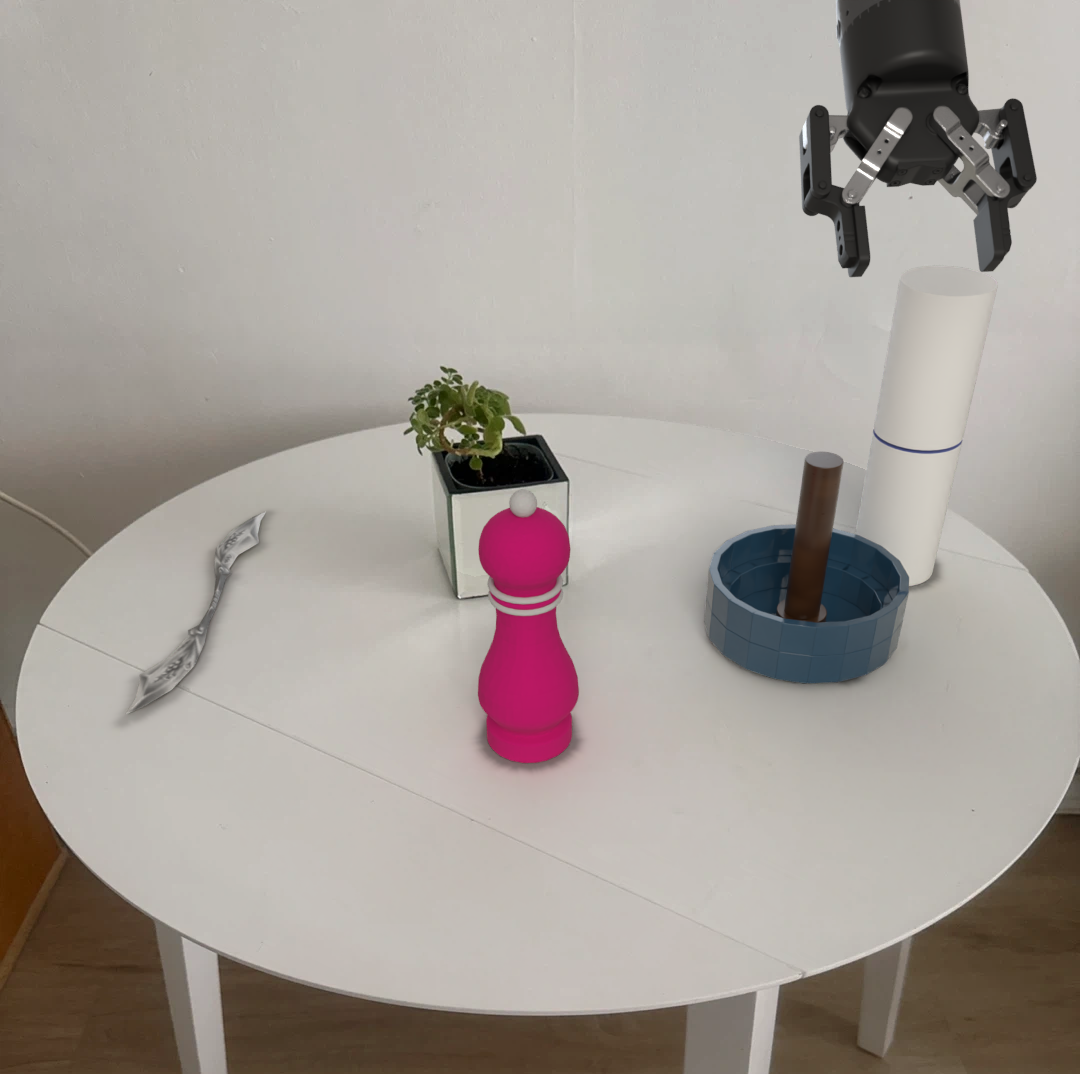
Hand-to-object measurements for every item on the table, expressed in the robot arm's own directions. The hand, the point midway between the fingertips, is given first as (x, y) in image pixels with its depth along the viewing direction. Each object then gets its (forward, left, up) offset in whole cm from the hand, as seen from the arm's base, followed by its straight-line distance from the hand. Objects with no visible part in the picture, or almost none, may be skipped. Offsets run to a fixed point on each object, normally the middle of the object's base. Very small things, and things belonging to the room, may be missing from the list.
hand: (926, 268), depth 73 cm
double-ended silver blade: (+54, +4, -31) cm, 63 cm away
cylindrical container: (-3, -16, -31) cm, 35 cm away
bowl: (+4, -3, -31) cm, 31 cm away
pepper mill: (+22, +15, -31) cm, 41 cm away
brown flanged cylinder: (+5, -3, -30) cm, 30 cm away
